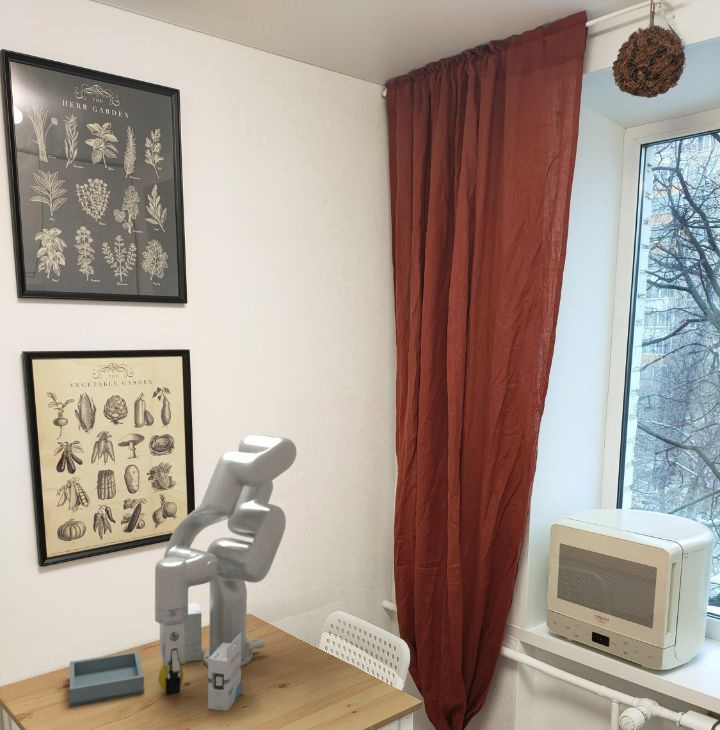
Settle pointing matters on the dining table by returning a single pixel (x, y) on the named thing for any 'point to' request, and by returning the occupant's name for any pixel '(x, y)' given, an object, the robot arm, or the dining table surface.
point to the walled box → (105, 678)
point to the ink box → (224, 675)
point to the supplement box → (193, 633)
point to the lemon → (164, 675)
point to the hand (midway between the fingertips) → (171, 686)
